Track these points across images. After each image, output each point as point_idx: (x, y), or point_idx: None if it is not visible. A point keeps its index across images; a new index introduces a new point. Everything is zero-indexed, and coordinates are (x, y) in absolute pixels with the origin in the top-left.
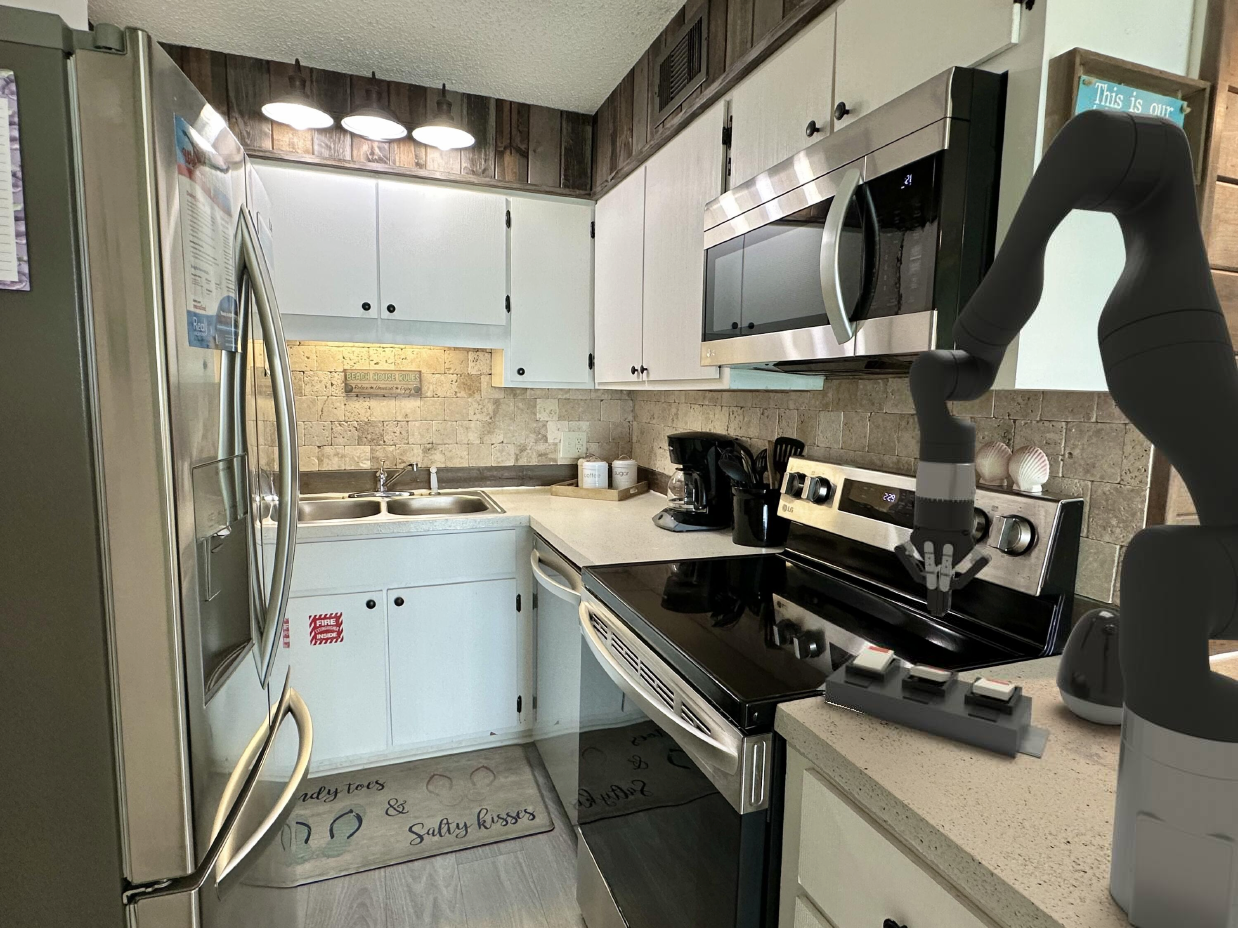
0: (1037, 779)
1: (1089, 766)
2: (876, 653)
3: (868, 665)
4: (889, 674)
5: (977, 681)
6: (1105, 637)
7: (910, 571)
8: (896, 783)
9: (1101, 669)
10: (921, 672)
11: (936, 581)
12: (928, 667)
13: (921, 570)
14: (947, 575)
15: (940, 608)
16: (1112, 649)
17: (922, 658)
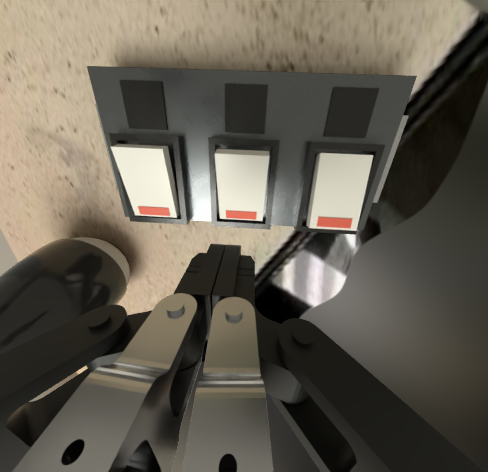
0: (72, 21)
1: (56, 120)
2: (335, 208)
3: (343, 157)
4: (303, 171)
5: (169, 181)
6: None
7: (363, 378)
8: None
9: (26, 266)
10: (249, 152)
11: (210, 335)
12: (250, 213)
13: (299, 413)
14: (121, 366)
15: (211, 253)
16: None
17: (278, 308)
